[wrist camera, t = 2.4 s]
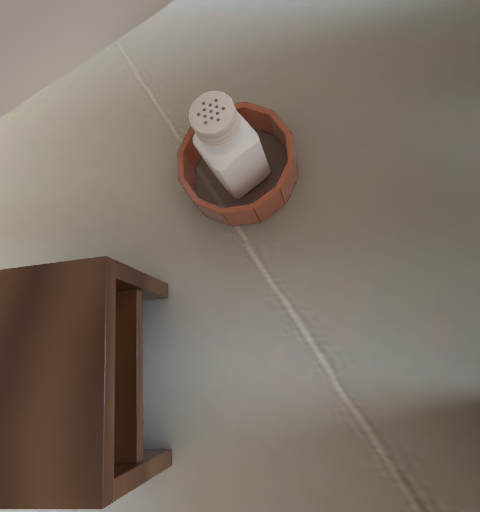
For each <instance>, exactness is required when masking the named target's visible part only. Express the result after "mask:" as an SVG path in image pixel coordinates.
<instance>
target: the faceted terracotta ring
mask: <svg viewBox="0 0 480 512" xmlns="http://www.w3.org/2000/svg"><path fill="white" fill-rule="evenodd" d="M234 105H235V108H236V110H237V112H238V113H239V114H240V115H241V116H242V117H243V118H244V119H245V120H246V121H247V122H248V123H249V125H250V126H251V127H252V128H255V129H258V130H261V131H264V132H267V133H270V134H273V135H275V136H276V137H277V139H278V140H279V141H280V142H281V143H282V145H283V146H284V147H285V148H286V149H287V156H288V162H287V164H286V166H285V168H284V170H283V172H282V174H281V176H280V178H279V180H278V183H277V185H276V187H274V188H273V189H271V190H270V191H269V192H267V193H266V194H264V195H263V196H262V197H260V198H259V199H258V200H256V201H255V202H253V203H252V204H247V205H240V206H233V207H226V208H222V207H219V206H217V205H214V204H212V203H209V202H207V201H204V200H202V199H201V198H200V197H199V195H198V194H197V192H196V174H195V168H196V166H197V164H198V162H199V161H200V159H201V157H202V156H201V155H200V153H199V152H198V150H197V149H196V147H195V146H194V144H193V136H194V134H195V132H194V130H193V129H192V127H190V129H189V131H188V133H187V134H186V136H185V138H184V140H183V142H182V144H181V146H180V148H179V150H178V179H179V182H180V183H181V185H182V186H183V188H184V189H185V190H186V192H187V193H188V195H189V196H190V198H191V199H192V201H193V202H194V203H195V204H196V205H197V207H198V208H199V209H200V210H201V211H202V212H203V213H204V214H205V215H206V216H207V217H210V218H212V219H215V220H217V221H219V222H222V223H224V224H227V225H229V226H238V225H245V224H253V223H260V221H261V222H262V221H263V220H265V219H266V218H268V217H269V216H270V215H272V214H273V213H274V212H276V211H277V210H279V209H280V208H281V207H283V206H284V205H285V204H286V203H287V200H288V198H289V196H290V194H291V192H292V190H293V188H294V186H295V184H296V181H297V179H298V171H297V162H296V153H295V147H294V142H293V138H292V133H291V131H290V130H289V128H288V127H287V126H286V125H285V124H284V123H283V121H282V120H281V119H280V118H279V117H278V116H277V114H276V113H275V112H274V111H272V110H270V109H267V108H264V107H261V106H257V105H254V104H251V103H248V102H241V103H236V104H234Z"/></svg>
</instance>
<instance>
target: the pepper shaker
mask: <svg viewBox="0 0 480 512" xmlns="http://www.w3.org/2000/svg"><path fill="white" fill-rule="evenodd" d="M188 119H189V122H190V124H191V127H192V129H193V130H194V132H195V134H194V136H193V144H194V146H195V147H196V149H197V150H198V152H199V153H200V155H201V156H202V158H203V159H204V161H205V162H206V164H207V165H208V167H209V168H210V170H211V171H212V173H213V174H214V175H215V176H216V178H217V179H218V180H219V181H220V183H221V184H222V185H223V186H224V187H225V189H226V190H227V191H228V192H229V194H230V195H231V196H232V197H234V198H236V199H239V198H241V197H243V196H244V195H245V194H246V193H248V192H249V191H250V190H251V189H253V188H254V187H255V186H256V185H258V184H259V183H260V182H261V181H263V180H264V179H265V178H266V177H268V175H269V174H270V172H271V171H270V168H269V165H268V162H267V159H266V156H265V153H264V151H263V148H262V145H261V142H260V139H259V136H258V134H257V133H256V132H255V131H254V129H253V128H252V127H251V126H250V125H249V123H248V122H247V121H246V120H245V119H244V118H243V117H242V116H241V115H240V114H239V113H238V112H237V110H236V108H235V105H234V103H233V101H232V99H231V97H230V96H229V95H227V94H225V93H223V92H222V91H208V92H206V93H204V94H202V95H200V96H198V97H197V98H196V99H195V100H194V102H193V103H192V104H191V105H190V109H189V114H188Z"/></svg>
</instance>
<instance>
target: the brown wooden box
mask: <svg viewBox="0 0 480 512" xmlns="http://www.w3.org/2000/svg"><path fill="white" fill-rule="evenodd" d="M163 298H168V284H167V283H165V282H162V281H160V280H158V279H156V278H154V277H151V276H149V275H147V274H145V273H143V272H140V271H138V270H136V269H134V268H132V267H129V266H127V265H125V264H123V263H121V262H118V261H116V260H114V259H112V258H110V257H107V256H104V257H96V258H88V259H80V260H73V261H65V262H57V263H49V264H42V265H34V266H26V267H18V268H11V269H3V270H0V509H103V508H105V507H106V506H108V505H110V504H111V503H113V502H114V501H116V500H117V499H119V498H120V497H122V496H124V495H125V494H127V493H128V492H130V491H132V490H133V489H135V488H136V487H138V486H140V485H141V484H143V483H144V482H146V481H148V480H149V479H151V478H152V477H154V476H156V475H157V474H159V473H160V472H162V471H164V470H165V469H167V468H168V467H170V466H171V465H172V449H143V359H142V301H144V300H153V299H163Z"/></svg>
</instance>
